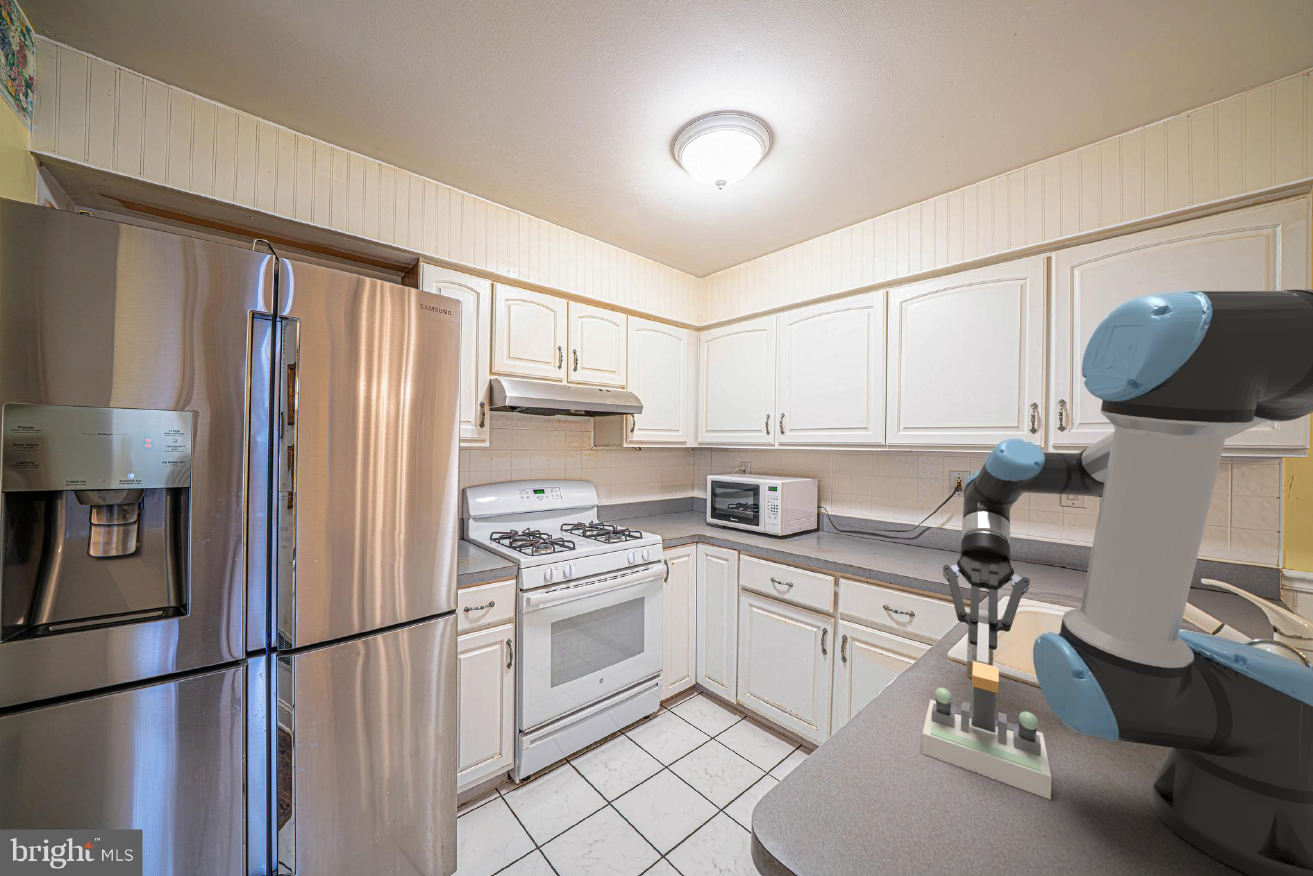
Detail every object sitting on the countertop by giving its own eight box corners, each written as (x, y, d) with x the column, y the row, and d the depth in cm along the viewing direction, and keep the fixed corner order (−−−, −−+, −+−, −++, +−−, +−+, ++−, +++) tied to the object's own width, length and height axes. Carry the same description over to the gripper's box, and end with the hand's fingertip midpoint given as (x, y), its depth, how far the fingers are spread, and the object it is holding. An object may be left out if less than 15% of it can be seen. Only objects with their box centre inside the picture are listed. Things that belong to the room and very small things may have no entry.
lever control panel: (1042, 752, 72) (1043, 693, 72) (1050, 799, 62) (1052, 731, 63) (929, 716, 81) (931, 664, 81) (921, 753, 71) (923, 693, 71)
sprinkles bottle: (996, 680, 95) (999, 613, 95) (986, 686, 92) (989, 617, 92) (971, 670, 99) (973, 606, 99) (961, 675, 96) (963, 610, 96)
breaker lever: (995, 722, 72) (998, 667, 66) (995, 737, 70) (998, 682, 65) (971, 715, 74) (973, 661, 68) (971, 730, 72) (972, 675, 67)
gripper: (1027, 560, 87) (1032, 688, 73) (944, 548, 94) (935, 663, 81) (1031, 535, 82) (1037, 667, 69) (944, 525, 90) (934, 643, 76)
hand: (982, 665), depth 75 cm, fingers closed
